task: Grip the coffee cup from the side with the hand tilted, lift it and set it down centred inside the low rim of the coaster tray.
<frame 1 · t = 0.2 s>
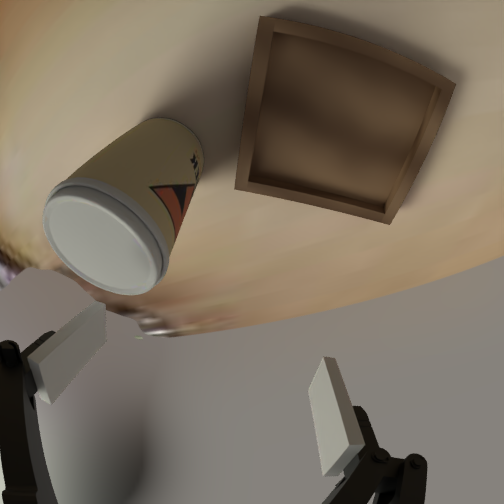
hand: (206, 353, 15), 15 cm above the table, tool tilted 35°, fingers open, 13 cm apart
coaster tray: (339, 122, 19), on the table
coffee cup: (165, 154, 23), on the table
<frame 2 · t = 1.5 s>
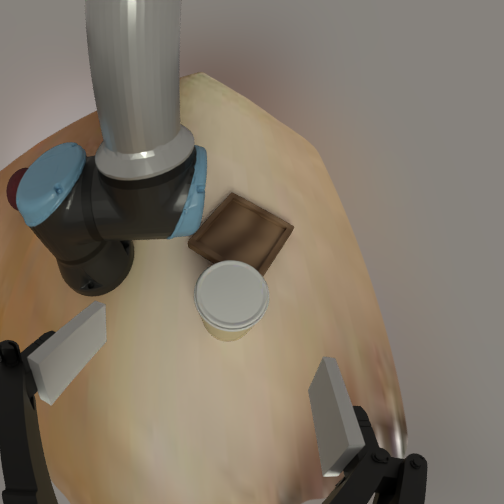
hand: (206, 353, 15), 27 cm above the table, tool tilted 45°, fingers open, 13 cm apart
coaster tray: (241, 239, 51), on the table
coffee cup: (227, 319, 44), on the table
decorative ball: (33, 203, 49), on the table
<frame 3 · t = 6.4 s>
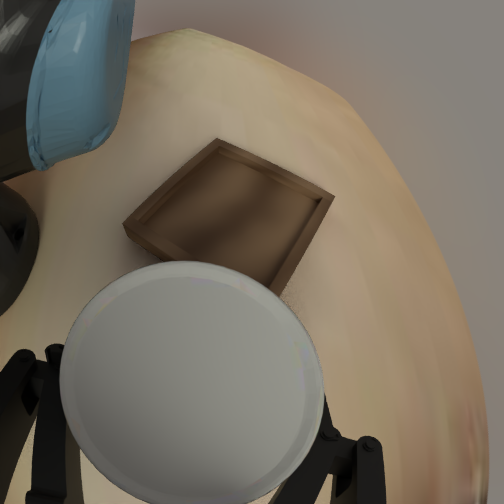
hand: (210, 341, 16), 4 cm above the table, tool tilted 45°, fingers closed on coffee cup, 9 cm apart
coaster tray: (234, 220, 25), on the table
coffee cup: (201, 393, 18), on the table, touching gripper
when the fingers open (6 cm above the table, at t = 11.6 s): coffee cup drops 1 cm, resting on coaster tray.
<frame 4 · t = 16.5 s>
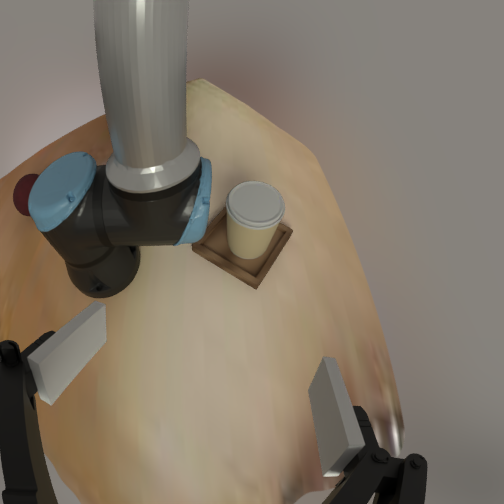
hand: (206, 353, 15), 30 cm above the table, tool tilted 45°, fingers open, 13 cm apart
coaster tray: (243, 242, 54), on the table
coffee cup: (247, 242, 53), point 1 cm above the table, touching coaster tray
decorative ball: (39, 208, 52), on the table
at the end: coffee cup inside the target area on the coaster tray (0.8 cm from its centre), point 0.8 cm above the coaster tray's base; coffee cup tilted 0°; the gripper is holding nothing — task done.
